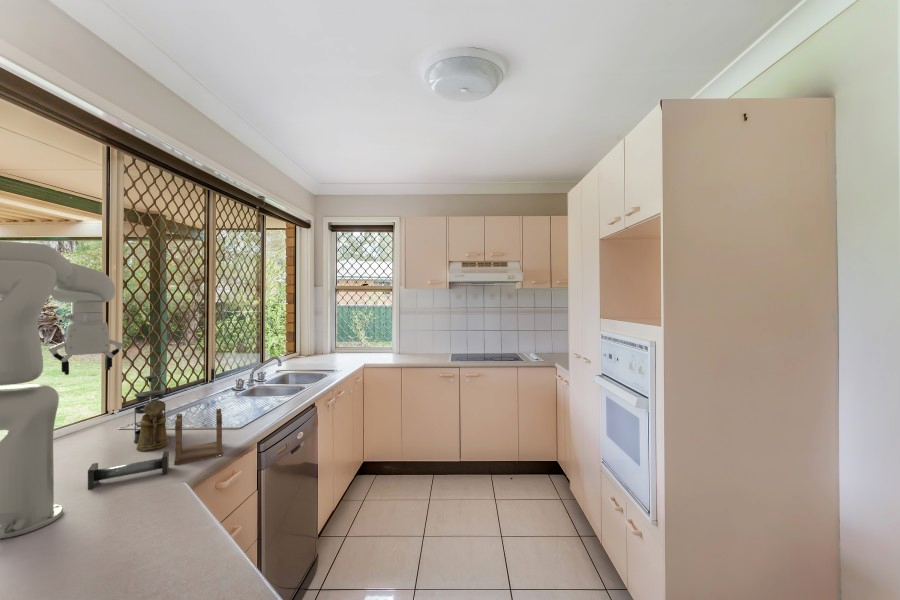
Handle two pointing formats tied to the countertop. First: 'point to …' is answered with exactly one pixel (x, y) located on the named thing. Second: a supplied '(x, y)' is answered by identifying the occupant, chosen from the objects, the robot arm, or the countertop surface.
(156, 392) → the french press
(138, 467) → the hanging bar
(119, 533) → the countertop surface
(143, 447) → the brown carved statue
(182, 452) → the hanging rack
